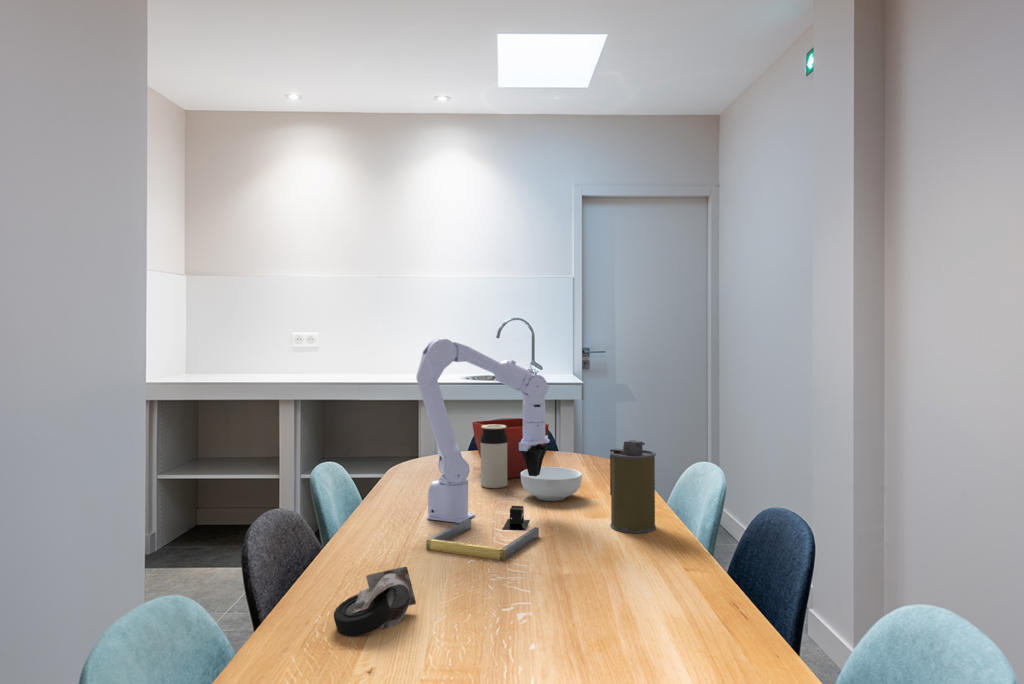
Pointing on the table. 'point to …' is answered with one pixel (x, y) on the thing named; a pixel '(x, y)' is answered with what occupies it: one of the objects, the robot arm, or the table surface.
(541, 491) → the cereal bowl
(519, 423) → the plant pot
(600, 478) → the table surface
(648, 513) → the canister
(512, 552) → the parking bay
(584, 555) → the table surface
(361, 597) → the caster wheel
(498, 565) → the table surface
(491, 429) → the travel mug
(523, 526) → the build plate
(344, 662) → the table surface
